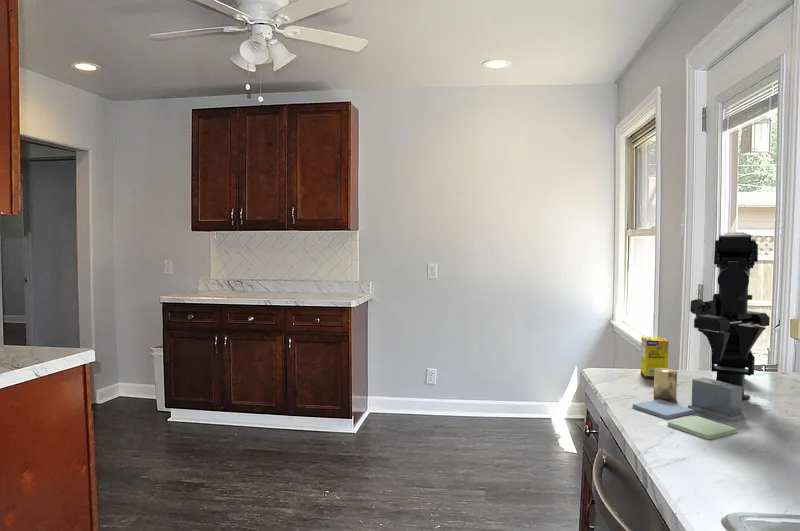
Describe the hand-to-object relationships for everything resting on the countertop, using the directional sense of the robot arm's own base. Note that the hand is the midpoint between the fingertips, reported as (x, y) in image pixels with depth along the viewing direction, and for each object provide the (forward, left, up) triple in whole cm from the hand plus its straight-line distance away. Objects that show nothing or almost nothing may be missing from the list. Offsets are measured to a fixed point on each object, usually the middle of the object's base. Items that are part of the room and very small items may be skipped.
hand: (730, 358), depth 127 cm
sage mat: (+17, +5, -12) cm, 21 cm away
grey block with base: (+5, 0, -12) cm, 13 cm away
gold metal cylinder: (+5, -13, -12) cm, 18 cm away
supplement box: (-11, -29, -12) cm, 33 cm away
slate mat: (+13, -7, -12) cm, 19 cm away
